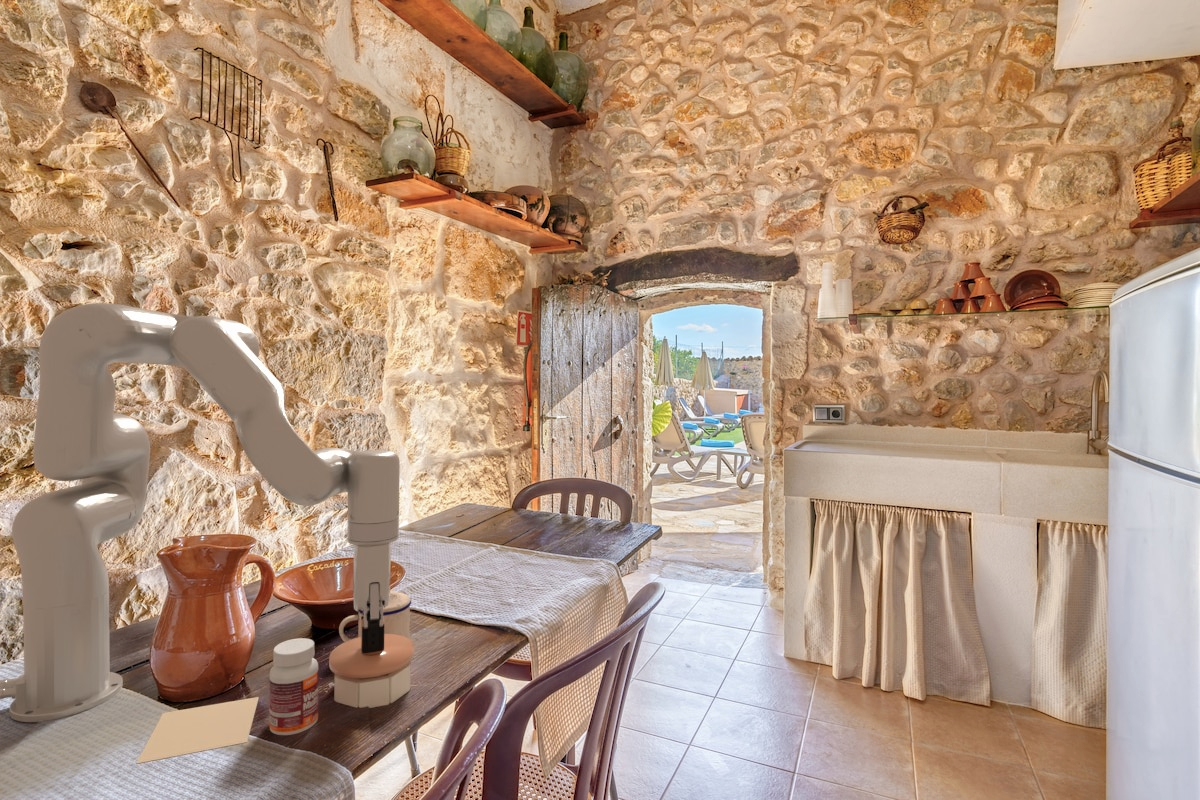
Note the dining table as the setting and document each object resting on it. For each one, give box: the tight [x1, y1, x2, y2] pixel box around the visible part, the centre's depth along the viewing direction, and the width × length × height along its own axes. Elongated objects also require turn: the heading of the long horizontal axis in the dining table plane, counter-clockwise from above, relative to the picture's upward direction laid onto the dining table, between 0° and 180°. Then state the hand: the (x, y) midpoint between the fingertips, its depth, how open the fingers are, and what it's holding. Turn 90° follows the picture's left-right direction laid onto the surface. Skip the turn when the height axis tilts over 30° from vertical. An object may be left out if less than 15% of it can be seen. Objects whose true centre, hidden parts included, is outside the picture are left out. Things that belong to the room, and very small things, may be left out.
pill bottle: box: [268, 637, 319, 736], centre depth 83 cm, size 6×6×11 cm
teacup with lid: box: [338, 587, 412, 643], centre depth 105 cm, size 12×9×12 cm
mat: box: [136, 696, 260, 765], centre depth 82 cm, size 12×12×1 cm
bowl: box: [333, 661, 412, 709], centre depth 93 cm, size 11×11×4 cm
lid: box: [328, 617, 415, 678], centre depth 93 cm, size 12×12×6 cm
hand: (372, 644), depth 93 cm, fingers closed on lid, 3 cm apart
